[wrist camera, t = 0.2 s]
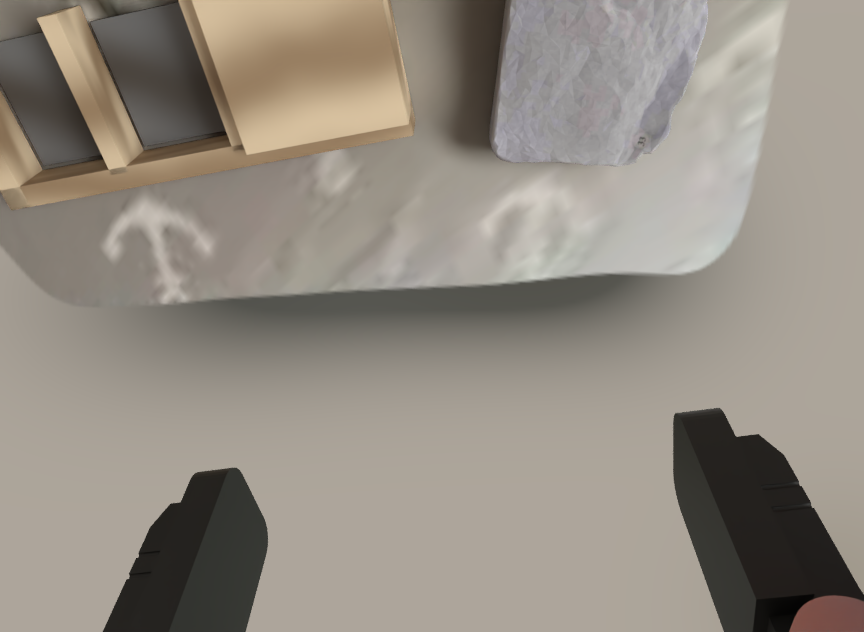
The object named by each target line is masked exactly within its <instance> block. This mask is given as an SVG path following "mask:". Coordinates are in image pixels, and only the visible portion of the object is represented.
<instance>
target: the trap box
mask: <svg viewBox="0 0 864 632" xmlns="http://www.w3.org/2000/svg"><path fill="white" fill-rule="evenodd" d="M178 1H179V2H176V3H172V4H167V5H163V6H158V7H154V8H149V9H145V10H140V11H136V12H131V13H127V14H122V15H118V16H113V17H108V18H104V19H99V20H95V21H91V22H90V23H91V25H92V28H93V30H94V32H95V34H96V37H97V39H98V41H99V44H100V46H101V48H102V51H103V53H104V55H105V57H106V60H107V62H108V64H109V67H110V69H111V71H112V73H113V76H114V78H115V80H116V83H117V85H118V87H119V89H120V92H121V94H122V96H123V99H124V101H125V103H126V105H127V108H128V110H129V112H130V115H131V117H132V119H133V121H134V124H135V126H136V128H137V131H138V133H139V135H140V137H141V140H142V142H143V144H144V146H149V145H154V144H159V143H164V142H170V141H175V140H180V139H185V138H190V137H195V136H200V135H206V134H211V133H216V132H221V131H226V133H227V135H222V136H217V137H212V138H206V139H201V140H196V141H191V142H186V143H181V144H175V145H170V146H165V147H160V148H155V149H150V150H143V148H142V146H141V143H140V141H139V139H138V136H137V134H136V132H135V130H134V127H133V125H132V123H131V121H130V118H129V116H128V114H127V111H126V109H125V107H124V105H123V102H122V100H121V98H120V95H119V93H118V91H117V89H116V86H115V84H114V82H113V80H112V77H111V75H110V73H109V70H108V68H107V66H106V64H105V61H104V59H103V57H102V54H101V52H100V50H99V48H98V45H97V43H96V41H95V39H94V36H93V34H92V32H91V29H90V27H89V25H88V23H87V20H86V18H85V16H84V13H83V11H82V9H81V7H80V6H76V7H71V8H67V9H62V10H59V11H56V12H54V13H51V14H48V15H45V16H42V17H39V18H37V20H38V22H39V24H40V26H41V28H42V30H43V32H41V33H36V34H32V35H27V36H23V37H18V38H14V39H9V40H5V41H0V84H1V86H2V88H3V89H4V91H5V93H6V95H7V97H8V99H9V101H10V103H11V105H12V107H13V108H14V110H15V112H16V114H17V116H18V118H19V120H20V122H21V124H22V125H23V127H24V129H25V131H26V133H27V135H28V137H29V139H30V141H31V143H32V144H33V146H34V148H35V150H36V152H37V154H38V156H39V158H40V160H41V161H42V163H43V165H44V166H46V165H51V164H56V163H61V162H67V161H72V160H77V159H82V158H87V157H92V156H97V155H102V157H103V159H98V160H93V161H88V162H82V163H77V164H72V165H67V166H62V167H56V168H51V169H46V170H42V168H41V166H40V164H39V162H38V160H37V158H36V156H35V155H34V153H33V151H32V149H31V147H30V145H29V143H28V141H27V140H26V138H25V136H24V134H23V132H22V130H21V128H20V126H19V124H18V123H17V121H16V119H15V117H14V115H13V113H12V111H11V109H10V107H9V106H8V104H7V102H6V100H5V98H4V96H3V94H2V92H1V91H0V192H1V193H2V195H3V197H4V199H5V200H6V202H7V204H8V205H9V207H10V209H11V210H16V209H21V208H27V207H32V206H37V205H43V204H48V203H54V202H59V201H64V200H70V199H75V198H80V197H86V196H91V195H97V194H102V193H107V192H113V191H118V190H123V189H129V188H134V187H139V186H145V185H150V184H156V183H161V182H166V181H172V180H177V179H182V178H188V177H193V176H199V175H204V174H209V173H215V172H220V171H225V170H231V169H236V168H241V167H247V166H252V165H258V164H263V163H268V162H274V161H279V160H284V159H290V158H295V157H300V156H306V155H311V154H317V153H322V152H327V151H333V150H338V149H343V148H349V147H354V146H360V145H365V144H370V143H376V142H381V141H386V140H392V139H397V138H402V137H408V136H413V133H414V127H415V117H414V112H413V107H412V102H411V98H410V93H409V88H408V83H407V79H406V74H405V69H404V64H403V60H402V55H401V50H400V45H399V41H398V36H397V31H396V26H395V22H394V17H393V12H392V7H391V3H390V0H178Z"/></svg>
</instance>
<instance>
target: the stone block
mask: <svg viewBox="0 0 864 632" xmlns="http://www.w3.org/2000/svg"><path fill="white" fill-rule="evenodd" d="M707 18H708V5H707V0H506V2H505V10H504V18H503V26H502V34H501V43H500V50H499V59H498V69H497V76H496V84H495V92H494V98H493V107H492V114H491V121H490V134H489V141H490V144H491V147H492V150H493V152H494V153H495V155H496V156H497V157H498V158H500V159H501V160H504V161H507V162H516V163H520V162H523V161H528V162H534V163H535V162H542V161H547V162H560V163H575V164H583V165H605V166H622V165H629V164H633V163H636V161H637V160H638V159H639V158H640V156H641V155H642V154H647V153H649V154H651V153H652V152H654V151H655V149H656V148H657V147H658V146H659V145H660V144H661V143H662V142H663V141H664V140H665V139H666V138H667V136H668V134H669V132H670V129H671V116H672V113H673V111H674V108H675V106H676V105H677V104H678V102H679V101H680V100H681V99H682V97H683V95H684V93H685V90H686V87H687V85H688V82H689V80H690V78H691V76H692V73H693V70H694V66H695V63H696V60H697V53H698V50H699V48H700V46H701V43H702V40H703V37H704V35H705V30H706V24H707Z"/></svg>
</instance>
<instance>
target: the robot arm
mask: <svg viewBox="0 0 864 632" xmlns="http://www.w3.org/2000/svg"><path fill="white" fill-rule="evenodd" d="M673 425H674V426H673V446H674V447H673V452H674V453H673V459H674V460H673V472H674V473H673V474H674V484H675V490H676V495H677V499H678V503H679V506H680V510H681V513H682V515H683V518H684V521H685V524H686V527H687V529H688V532H689V535H690V538H691V540H692V543H693V546H694V549H695V552H696V555H697V557H698V560H699V563H700V566H701V568H702V571H703V574H704V577H705V580H706V582H707V585H708V588H709V591H710V593H711V597H712V599H713V602H714V605H715V608H716V611H717V613H718V616H719V619H720V622H721V624H722V627H723V630H724V632H864V594H863V593H862V591H861V590H860V588H859V587H858V585H857V583H856V581H855V580H854V578H853V576H852V574H851V573H850V571H849V569H848V568H847V565H846V564H845V562H844V560H843V558H842V557H841V555H840V553H839V551H838V550H837V548H836V546H835V544H834V543H833V541H832V539H831V537H830V535H829V534H828V532H827V530H826V528H825V527H824V525H823V523H822V521H821V520H820V518H819V516H818V514H817V513H816V511H815V509H814V508H812V507H811V502H810V500H809V498H808V497H807V495H806V493H805V491H804V490H803V488H802V486H800V485H799V481H798V479H797V477H796V476H795V474H794V472H793V470H792V468H791V467H790V465H789V463H788V461H787V460H786V458H785V456H784V455H783V454H782V453H781V452H779V451H778V450H777V449H776V448H775V447H773V446H772V445H771V444H770V443H768V442H767V441H766V440H765V439H764V438H762V437H761V436H760V435H759V434H757V435H748V436H741V437H736V436H735V434H734V432H733V430H732V428H731V426H730V424H729V422H728V420H727V418H726V416H725V414H724V412H723V411H722V410H721V409H720V408H714V409H706V410H699V411H690V412H682V413H676V414H675V415H674V422H673ZM267 547H268V533H267V527H266V522H265V520H264V517H263V515H262V513H261V511H260V509H259V507H258V505H257V503H256V501H255V499H254V497H253V495H252V493H251V491H250V489H249V487H248V485H247V483H246V481H245V479H244V477H243V475H242V473H241V472H240V470H239V469H237V468H228V469H220V470H212V471H204V472H197V473H195V474H194V475H193V476H192V478H191V480H190V482H189V484H188V487H187V489H186V491H185V494H184V496H183V498H182V501H181V503H173V504H170V505H169V506H168V508H167V509H166V510H165V511H164V512H163V513H162V514H161V515H160V517H159V518H158V519H157V520H156V521H155V522H154V524H153V525H152V526H151V527H150V529H149V531H148V533H147V536H146V538H145V541H144V542H143V544H142V547H141V549H140V551H139V558H136V560H135V562H134V564H133V567H132V569H131V571H130V573H129V575H130V578H129V579H127V580H126V582H125V584H124V586H123V589H122V591H121V593H120V595H119V597H118V600H117V602H116V604H115V606H114V608H113V611H112V613H111V615H110V617H109V620H108V622H107V624H106V626H105V628H104V630H103V632H245V631H246V628H247V624H248V620H249V617H250V613H251V609H252V606H253V602H254V598H255V594H256V591H257V587H258V583H259V579H260V576H261V572H262V568H263V564H264V560H265V557H266V553H267Z"/></svg>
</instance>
